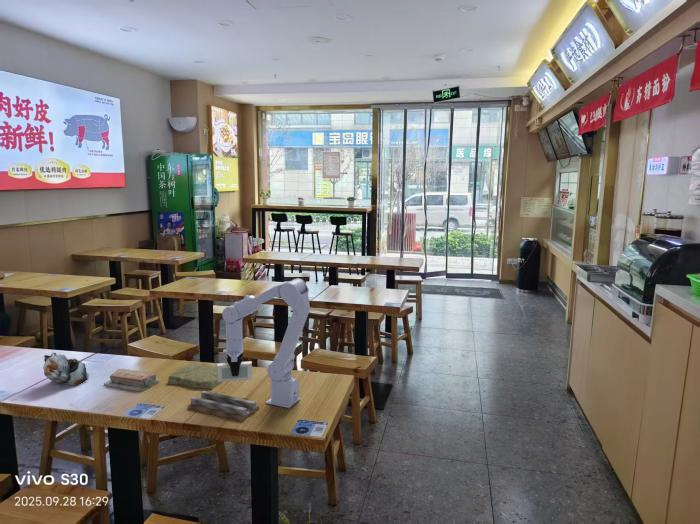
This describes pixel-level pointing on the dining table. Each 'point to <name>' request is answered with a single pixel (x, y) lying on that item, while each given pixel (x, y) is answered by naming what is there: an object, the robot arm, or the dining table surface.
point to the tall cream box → (226, 375)
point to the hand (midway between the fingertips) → (235, 374)
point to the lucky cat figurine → (64, 370)
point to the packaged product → (132, 379)
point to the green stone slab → (196, 375)
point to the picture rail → (223, 405)
